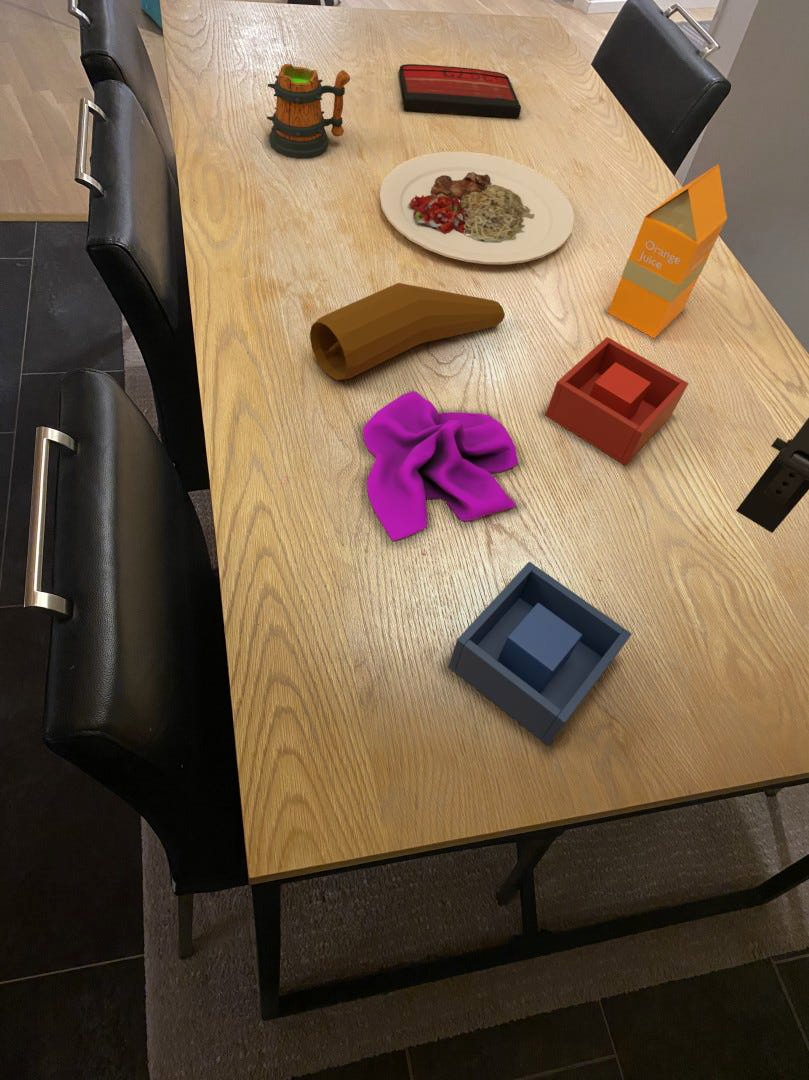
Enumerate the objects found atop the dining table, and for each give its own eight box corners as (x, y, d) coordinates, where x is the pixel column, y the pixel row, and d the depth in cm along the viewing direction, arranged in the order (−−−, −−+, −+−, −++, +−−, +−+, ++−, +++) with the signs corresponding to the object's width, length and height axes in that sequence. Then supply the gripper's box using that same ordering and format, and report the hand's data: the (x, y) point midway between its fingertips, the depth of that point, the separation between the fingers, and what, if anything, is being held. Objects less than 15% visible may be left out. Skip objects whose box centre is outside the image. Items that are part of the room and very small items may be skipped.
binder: (521, 105, 135) (404, 97, 132) (519, 119, 137) (403, 111, 134) (507, 68, 145) (398, 60, 142) (505, 82, 146) (397, 74, 144)
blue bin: (612, 660, 74) (632, 633, 70) (548, 746, 68) (565, 722, 64) (516, 591, 78) (529, 561, 73) (447, 667, 72) (456, 639, 68)
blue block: (567, 659, 73) (582, 634, 69) (539, 694, 71) (553, 671, 67) (525, 627, 75) (538, 601, 71) (496, 661, 72) (507, 636, 68)
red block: (636, 412, 94) (651, 382, 90) (616, 433, 92) (630, 403, 88) (602, 392, 96) (615, 361, 92) (582, 412, 93) (594, 381, 89)
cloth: (373, 387, 93) (377, 348, 88) (522, 414, 93) (534, 376, 88) (337, 531, 80) (339, 494, 75) (511, 562, 80) (524, 527, 75)
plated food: (608, 224, 120) (615, 204, 117) (488, 300, 105) (492, 279, 102) (465, 143, 130) (468, 123, 127) (338, 203, 115) (338, 182, 113)
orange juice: (683, 310, 108) (748, 175, 92) (654, 339, 104) (718, 202, 88) (636, 285, 111) (691, 149, 95) (606, 312, 106) (659, 174, 90)
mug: (266, 157, 121) (262, 79, 112) (269, 125, 127) (266, 49, 117) (347, 163, 122) (351, 87, 113) (347, 131, 128) (350, 56, 119)
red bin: (671, 416, 95) (689, 383, 91) (625, 466, 90) (642, 433, 85) (593, 370, 99) (607, 336, 94) (544, 415, 93) (556, 381, 89)
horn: (486, 335, 105) (343, 409, 94) (448, 271, 104) (300, 338, 93) (517, 308, 98) (365, 384, 87) (475, 239, 97) (318, 307, 86)
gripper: (1002, 78, 45) (810, 357, 62) (859, 246, 32) (668, 536, 49) (1138, 129, 42) (899, 404, 60) (1039, 331, 30) (773, 604, 47)
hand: (794, 464), depth 55 cm, fingers open, 13 cm apart
